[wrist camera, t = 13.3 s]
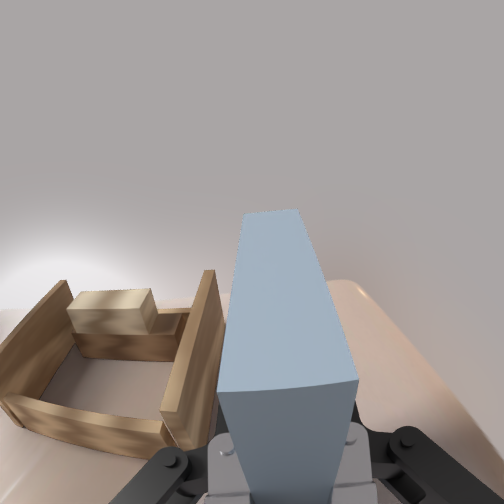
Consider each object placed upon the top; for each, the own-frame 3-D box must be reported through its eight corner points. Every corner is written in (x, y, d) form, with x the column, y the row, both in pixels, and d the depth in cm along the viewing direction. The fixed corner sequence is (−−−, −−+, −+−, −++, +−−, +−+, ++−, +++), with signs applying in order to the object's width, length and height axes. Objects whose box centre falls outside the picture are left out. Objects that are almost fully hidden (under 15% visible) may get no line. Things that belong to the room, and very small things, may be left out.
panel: (276, 555, 13) (216, 392, 4) (274, 458, 21) (243, 213, 13) (309, 552, 12) (359, 379, 4) (302, 455, 21) (297, 208, 12)
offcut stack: (83, 357, 34) (60, 309, 31) (94, 338, 37) (75, 291, 34) (183, 361, 33) (165, 307, 30) (189, 339, 36) (175, 286, 33)
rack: (16, 425, 22) (-23, 373, 19) (79, 327, 40) (60, 280, 37) (203, 464, 20) (176, 411, 17) (225, 325, 38) (214, 269, 35)
